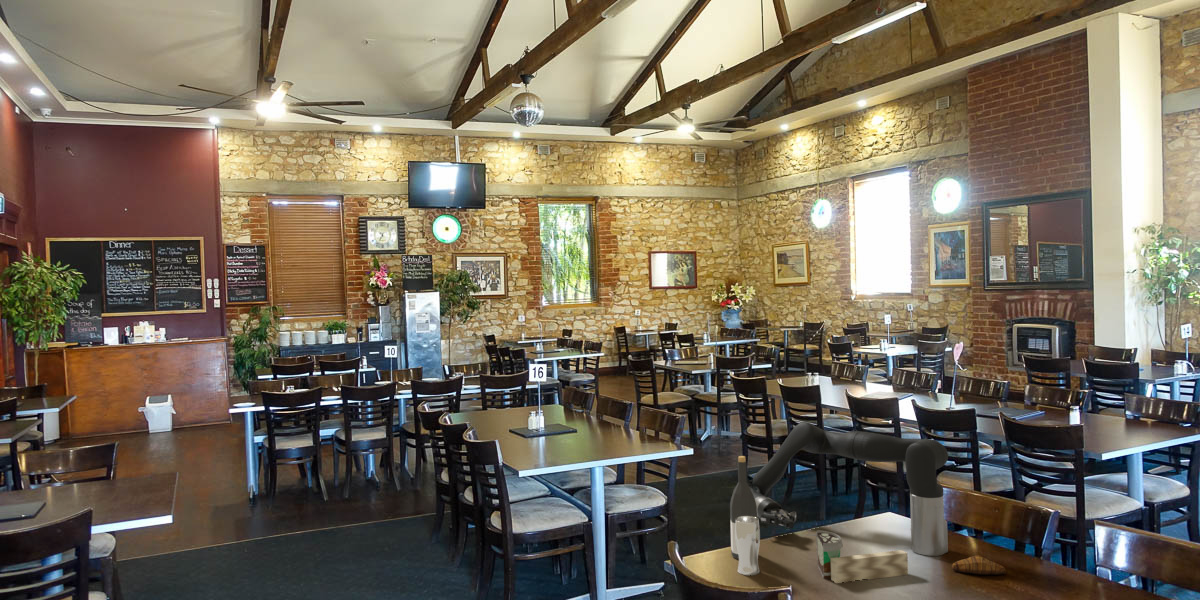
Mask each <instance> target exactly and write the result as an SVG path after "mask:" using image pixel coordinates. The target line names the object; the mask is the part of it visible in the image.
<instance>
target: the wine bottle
mask: <svg viewBox="0 0 1200 600" xmlns="http://www.w3.org/2000/svg"><path fill="white" fill-rule="evenodd" d="M737 475H738V482H737V483H736V486H735V487H736V488H735V487H734V488H735V489H734V488H733V490H734V491H733V490H732V494H731V495H732V496H731V498H730V503H729V512H730V513H729V514H730V515H729V519H730V552H731V556H732V557H733V559H736V560H739V555H738V550H737V545H736V539H735V522H736V518H737V517H739V516H753V517H757V506H756V502H755V498H754V496H753V493H752V491H751V489H750V487H751V486H750V487H749V483H748V481H747V461H746V456H745V455H739V456H738V461H737ZM757 518H758V517H757Z"/></svg>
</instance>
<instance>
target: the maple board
mask: <svg viewBox="0 0 1200 600" xmlns="http://www.w3.org/2000/svg"><path fill="white" fill-rule="evenodd" d="M908 558H909V557H908V552H907V551H904V550H891V551H883V552H882V551H881V552H874V553H864V554H857V555H848V556H847V555H845V556H840V557H837V558H831V578H830V579H831V581H832V582H833V581H834V583H835V584H843V583H842V582H844V583H849V582H848V581H852V582H856V581H855V580H860V581H863V580H862V579H868V580H876V579H883V578H891V577H892V578H893V577H900V576H908V575H909V562H908Z"/></svg>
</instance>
